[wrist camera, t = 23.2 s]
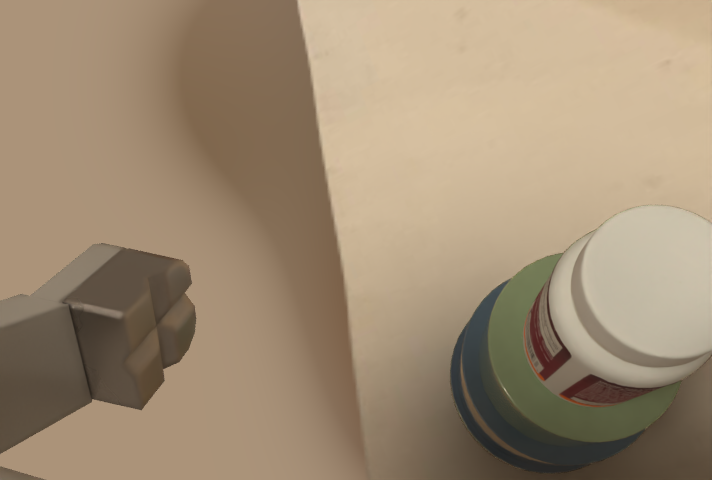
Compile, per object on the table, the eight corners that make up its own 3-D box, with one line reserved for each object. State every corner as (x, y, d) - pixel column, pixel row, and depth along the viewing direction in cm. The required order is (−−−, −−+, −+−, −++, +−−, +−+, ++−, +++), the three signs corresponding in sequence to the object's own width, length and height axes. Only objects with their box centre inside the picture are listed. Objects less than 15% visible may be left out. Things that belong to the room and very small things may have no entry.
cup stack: (647, 469, 32) (741, 467, 23) (457, 477, 33) (472, 477, 23) (616, 287, 35) (687, 218, 26) (443, 297, 36) (450, 234, 26)
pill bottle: (681, 332, 24) (806, 263, 16) (605, 437, 23) (699, 418, 15) (569, 254, 26) (636, 155, 18) (494, 350, 25) (528, 291, 17)
